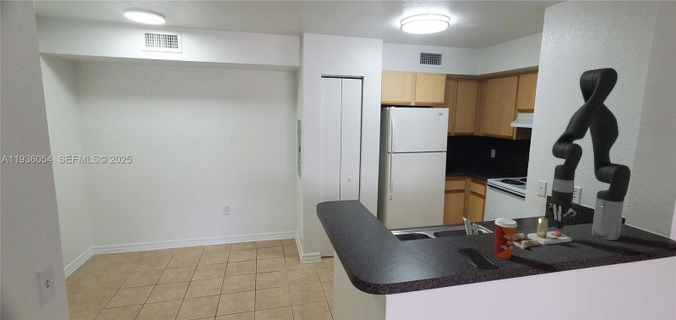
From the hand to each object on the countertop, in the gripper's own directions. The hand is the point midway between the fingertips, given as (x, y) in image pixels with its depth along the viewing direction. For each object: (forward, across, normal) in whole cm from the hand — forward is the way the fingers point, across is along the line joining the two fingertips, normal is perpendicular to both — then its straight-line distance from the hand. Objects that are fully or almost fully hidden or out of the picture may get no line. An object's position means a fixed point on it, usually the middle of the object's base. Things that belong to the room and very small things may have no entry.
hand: (558, 228), depth 135 cm
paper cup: (+5, -7, +34) cm, 35 cm away
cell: (+3, 0, +9) cm, 9 cm away
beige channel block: (+5, 0, +18) cm, 19 cm away
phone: (+5, -7, +46) cm, 47 cm away
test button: (+5, 0, 0) cm, 5 cm away
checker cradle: (+5, 0, +5) cm, 7 cm away
